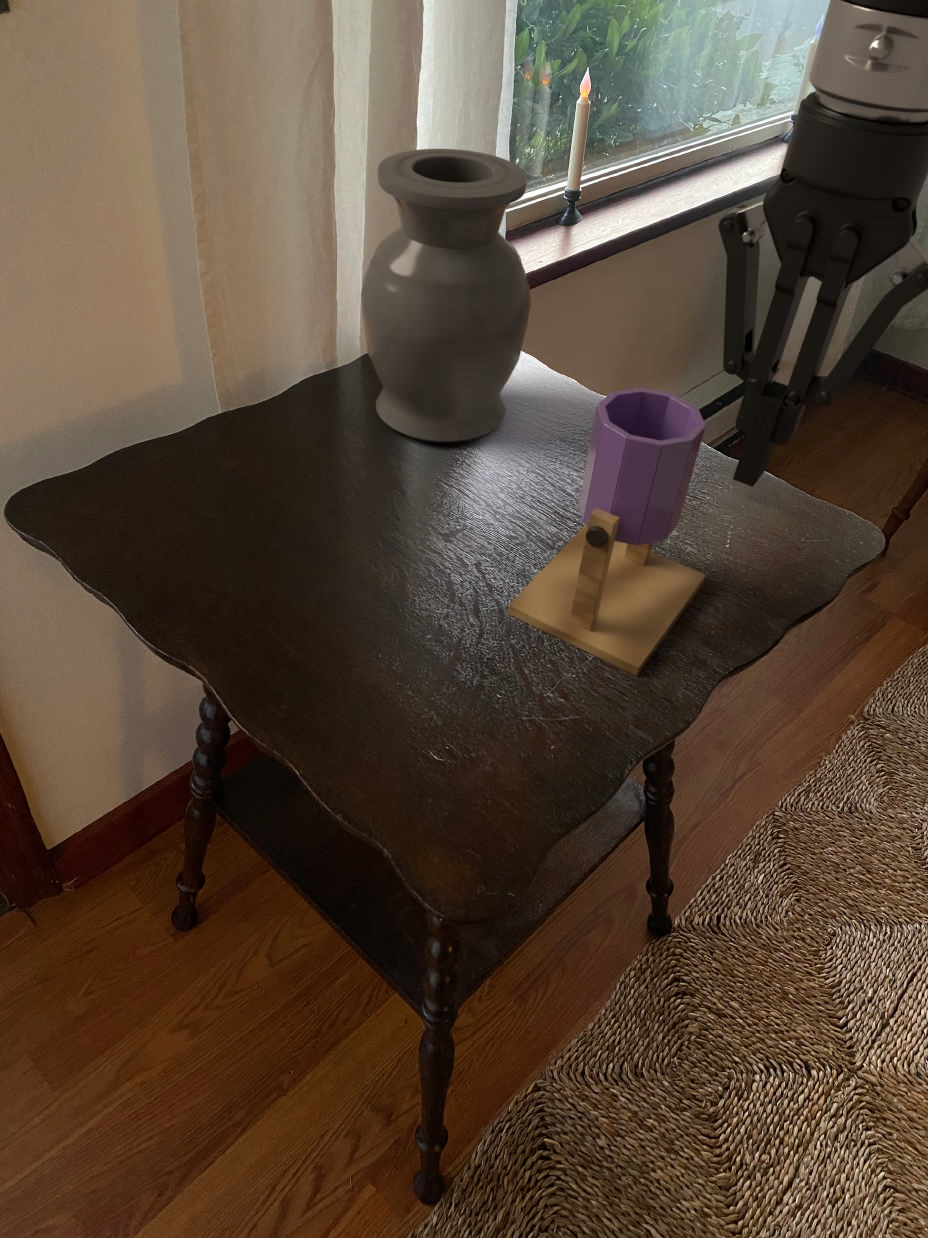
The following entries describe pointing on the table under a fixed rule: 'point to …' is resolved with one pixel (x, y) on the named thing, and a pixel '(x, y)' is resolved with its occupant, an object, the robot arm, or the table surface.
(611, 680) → the table surface
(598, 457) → the cup
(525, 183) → the vase
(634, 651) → the swivel stand
